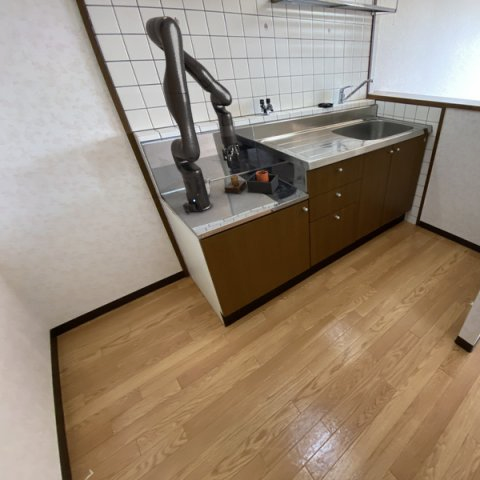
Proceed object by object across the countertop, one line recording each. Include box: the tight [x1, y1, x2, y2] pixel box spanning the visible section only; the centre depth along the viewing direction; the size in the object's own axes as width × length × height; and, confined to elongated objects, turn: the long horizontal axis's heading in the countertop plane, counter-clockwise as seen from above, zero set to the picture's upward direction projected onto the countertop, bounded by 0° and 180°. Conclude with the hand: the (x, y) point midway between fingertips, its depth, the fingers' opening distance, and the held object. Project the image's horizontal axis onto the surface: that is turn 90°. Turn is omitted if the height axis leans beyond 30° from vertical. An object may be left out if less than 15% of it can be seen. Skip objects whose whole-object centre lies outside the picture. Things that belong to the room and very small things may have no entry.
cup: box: [255, 170, 269, 182], centre depth 152 cm, size 6×6×9 cm
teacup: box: [204, 178, 212, 196], centre depth 146 cm, size 14×11×8 cm
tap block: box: [224, 179, 247, 194], centre depth 154 cm, size 11×8×3 cm
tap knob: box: [229, 174, 239, 185], centre depth 152 cm, size 4×4×5 cm
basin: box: [245, 172, 280, 195], centre depth 153 cm, size 12×14×6 cm
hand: (233, 164), depth 147 cm, fingers open, 8 cm apart
